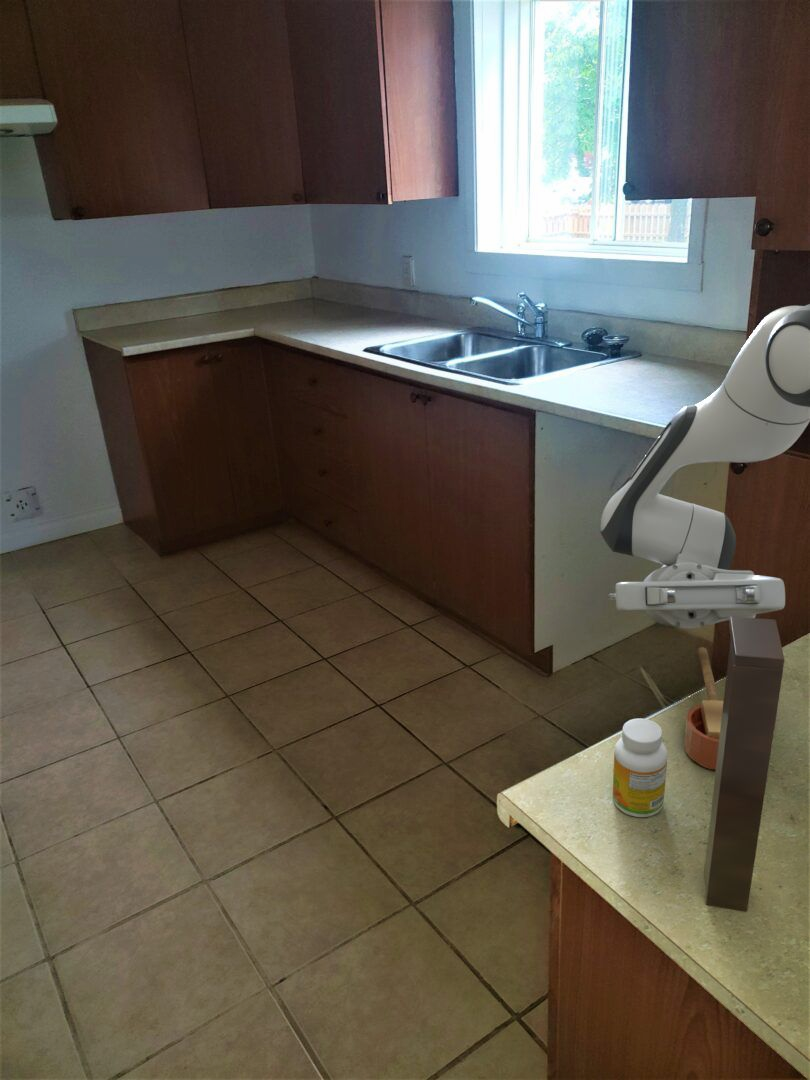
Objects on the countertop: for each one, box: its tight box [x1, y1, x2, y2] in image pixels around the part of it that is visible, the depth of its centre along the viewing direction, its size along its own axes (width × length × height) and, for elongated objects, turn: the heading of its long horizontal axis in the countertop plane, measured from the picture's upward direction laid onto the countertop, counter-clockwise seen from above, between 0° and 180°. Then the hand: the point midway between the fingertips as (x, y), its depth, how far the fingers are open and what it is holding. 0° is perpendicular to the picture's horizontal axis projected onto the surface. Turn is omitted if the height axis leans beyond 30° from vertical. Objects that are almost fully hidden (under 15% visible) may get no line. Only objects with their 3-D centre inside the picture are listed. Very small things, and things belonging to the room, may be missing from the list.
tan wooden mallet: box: [697, 646, 724, 739], centre depth 97 cm, size 15×3×2 cm, turn 171°
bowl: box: [683, 703, 719, 771], centre depth 94 cm, size 7×7×4 cm
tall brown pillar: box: [703, 617, 785, 913], centre depth 73 cm, size 4×6×28 cm, turn 164°
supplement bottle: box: [612, 717, 668, 818], centre depth 87 cm, size 5×5×10 cm
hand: (710, 594), depth 96 cm, fingers open, 8 cm apart
